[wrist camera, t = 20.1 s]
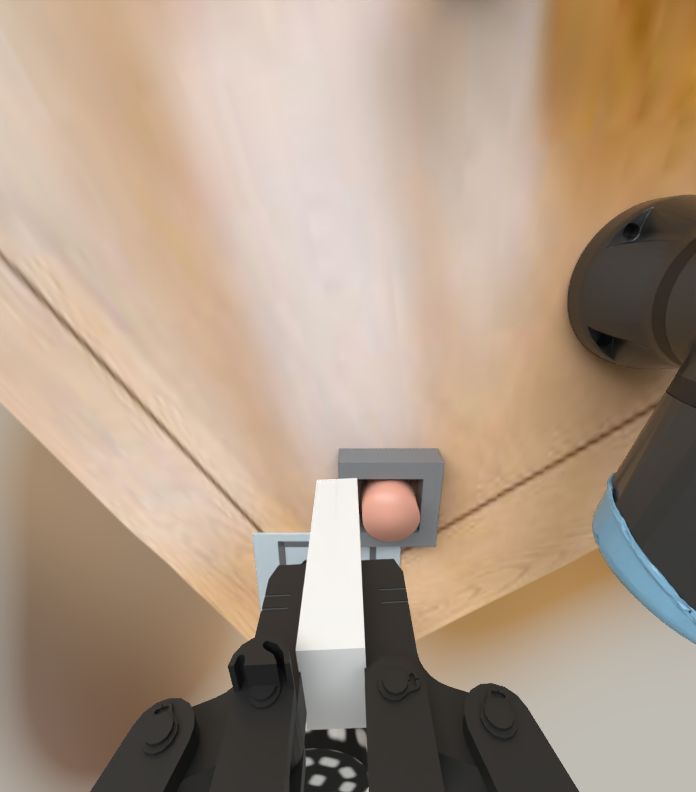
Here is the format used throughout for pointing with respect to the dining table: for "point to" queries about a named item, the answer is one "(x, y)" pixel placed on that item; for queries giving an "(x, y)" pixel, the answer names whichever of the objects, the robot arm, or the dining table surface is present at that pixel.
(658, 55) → the dining table surface
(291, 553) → the drawing pad
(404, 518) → the button
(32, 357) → the dining table surface
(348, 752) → the white-spotted black cylinder
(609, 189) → the dining table surface
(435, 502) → the button housing
